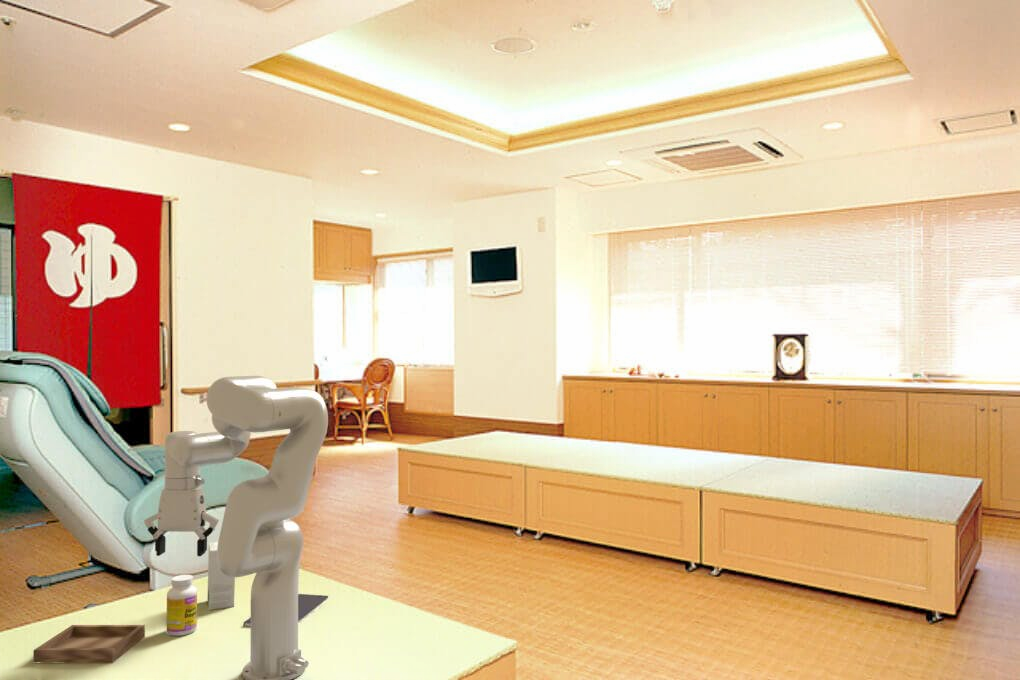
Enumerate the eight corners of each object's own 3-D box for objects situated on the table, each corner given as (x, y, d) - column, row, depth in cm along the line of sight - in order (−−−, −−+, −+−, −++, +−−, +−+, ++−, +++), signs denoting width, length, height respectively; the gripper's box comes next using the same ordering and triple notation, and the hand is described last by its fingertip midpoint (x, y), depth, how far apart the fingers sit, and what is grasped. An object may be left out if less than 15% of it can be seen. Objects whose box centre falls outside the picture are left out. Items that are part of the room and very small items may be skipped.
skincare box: (207, 600, 195) (207, 542, 195) (233, 596, 198) (233, 539, 198) (208, 610, 188) (208, 550, 188) (236, 606, 190) (236, 547, 190)
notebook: (285, 598, 198) (243, 628, 177) (285, 592, 198) (243, 622, 177) (329, 601, 196) (291, 632, 175) (329, 595, 196) (291, 625, 175)
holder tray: (144, 636, 171) (144, 624, 171) (112, 662, 157) (112, 649, 157) (72, 637, 171) (72, 625, 171) (33, 663, 157) (33, 650, 157)
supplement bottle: (185, 638, 170) (185, 583, 170) (160, 635, 171) (160, 581, 172) (202, 627, 177) (202, 574, 177) (178, 625, 178) (178, 572, 178)
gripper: (224, 480, 178) (223, 550, 178) (153, 479, 178) (152, 549, 178) (211, 487, 171) (210, 559, 171) (137, 486, 171) (136, 558, 171)
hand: (181, 554), depth 174 cm, fingers open, 9 cm apart
